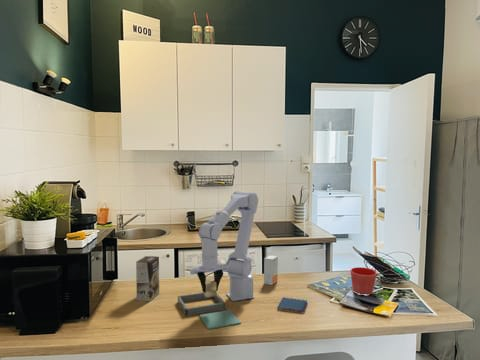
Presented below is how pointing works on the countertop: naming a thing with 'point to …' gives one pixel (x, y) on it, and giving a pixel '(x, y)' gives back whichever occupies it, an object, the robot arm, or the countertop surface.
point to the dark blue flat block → (292, 305)
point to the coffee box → (147, 278)
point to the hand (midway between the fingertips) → (209, 290)
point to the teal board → (219, 319)
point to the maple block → (210, 288)
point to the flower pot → (363, 280)
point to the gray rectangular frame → (200, 309)
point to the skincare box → (270, 269)
